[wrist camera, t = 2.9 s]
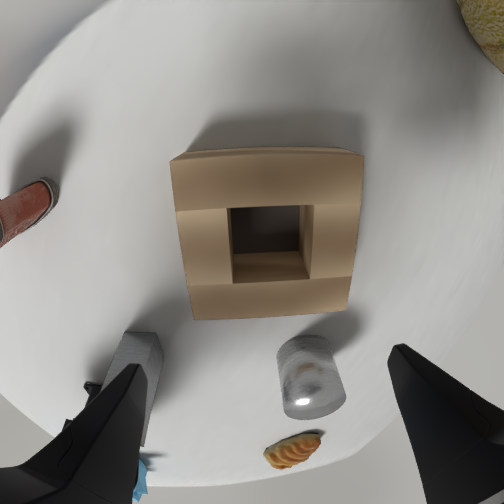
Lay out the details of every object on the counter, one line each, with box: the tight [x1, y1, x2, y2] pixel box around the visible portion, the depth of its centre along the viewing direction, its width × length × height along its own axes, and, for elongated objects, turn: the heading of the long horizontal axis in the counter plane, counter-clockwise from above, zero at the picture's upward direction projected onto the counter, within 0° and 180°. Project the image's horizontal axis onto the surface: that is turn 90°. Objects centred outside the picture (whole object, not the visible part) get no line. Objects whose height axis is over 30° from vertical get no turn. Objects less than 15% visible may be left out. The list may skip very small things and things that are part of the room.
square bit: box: [100, 332, 164, 447], centre depth 19 cm, size 3×3×10 cm
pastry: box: [263, 434, 321, 470], centre depth 34 cm, size 9×7×4 cm
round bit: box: [277, 335, 346, 420], centre depth 22 cm, size 5×5×6 cm
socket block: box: [170, 147, 364, 320], centre depth 17 cm, size 10×10×4 cm
